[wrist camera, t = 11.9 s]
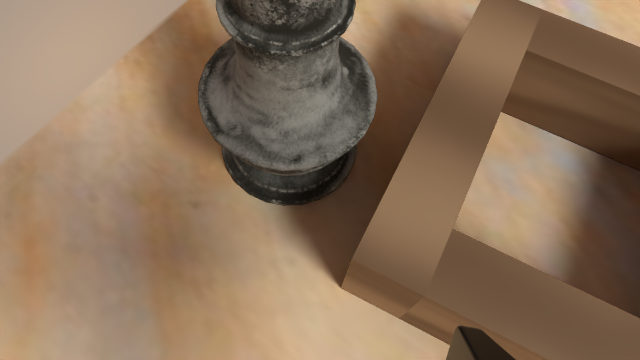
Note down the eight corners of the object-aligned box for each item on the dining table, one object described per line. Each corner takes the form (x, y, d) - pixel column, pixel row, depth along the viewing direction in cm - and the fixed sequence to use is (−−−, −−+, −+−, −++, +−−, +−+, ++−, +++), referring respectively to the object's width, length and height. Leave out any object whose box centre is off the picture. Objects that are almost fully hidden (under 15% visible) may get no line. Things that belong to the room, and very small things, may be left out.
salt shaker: (189, 184, 18) (24, -161, 7) (248, 67, 20) (194, -321, 10) (338, 233, 17) (408, -60, 6) (380, 106, 20) (482, -258, 9)
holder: (694, 471, 14) (805, 490, 11) (340, 288, 16) (351, 259, 13) (735, 164, 19) (820, 117, 16) (458, 50, 21) (487, -12, 18)
